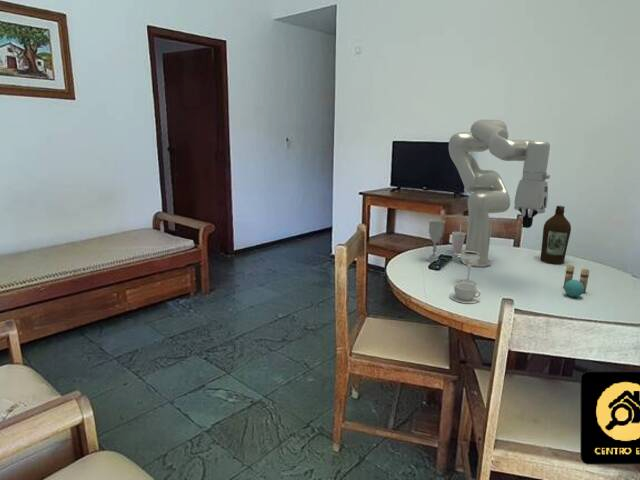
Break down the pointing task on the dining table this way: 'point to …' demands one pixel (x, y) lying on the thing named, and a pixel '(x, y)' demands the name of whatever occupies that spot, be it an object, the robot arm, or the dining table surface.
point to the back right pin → (584, 278)
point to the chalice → (435, 235)
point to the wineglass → (469, 261)
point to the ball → (574, 288)
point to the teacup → (465, 293)
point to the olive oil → (555, 238)
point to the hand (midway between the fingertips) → (526, 227)
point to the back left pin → (568, 274)
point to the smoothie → (458, 240)
